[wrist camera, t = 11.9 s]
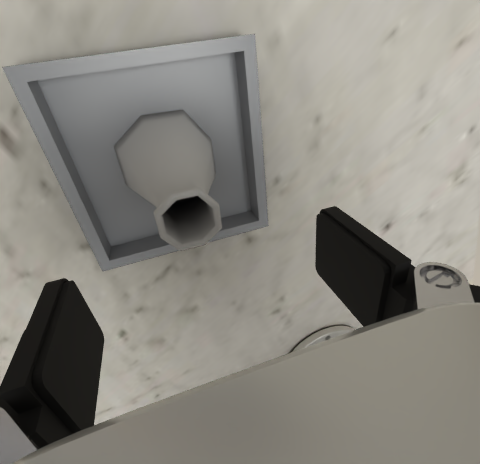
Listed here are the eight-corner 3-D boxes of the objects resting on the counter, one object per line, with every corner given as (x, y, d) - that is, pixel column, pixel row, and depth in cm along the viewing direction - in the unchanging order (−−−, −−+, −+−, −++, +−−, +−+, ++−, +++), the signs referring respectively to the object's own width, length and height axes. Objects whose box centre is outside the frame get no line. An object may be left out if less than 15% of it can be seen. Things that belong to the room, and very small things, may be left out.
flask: (229, 177, 24) (278, 239, 16) (152, 219, 24) (163, 303, 16) (187, 90, 20) (225, 113, 12) (93, 139, 20) (67, 198, 12)
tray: (258, 212, 28) (268, 225, 25) (105, 253, 25) (102, 271, 23) (241, 36, 20) (255, 33, 18) (17, 65, 17) (1, 67, 15)
